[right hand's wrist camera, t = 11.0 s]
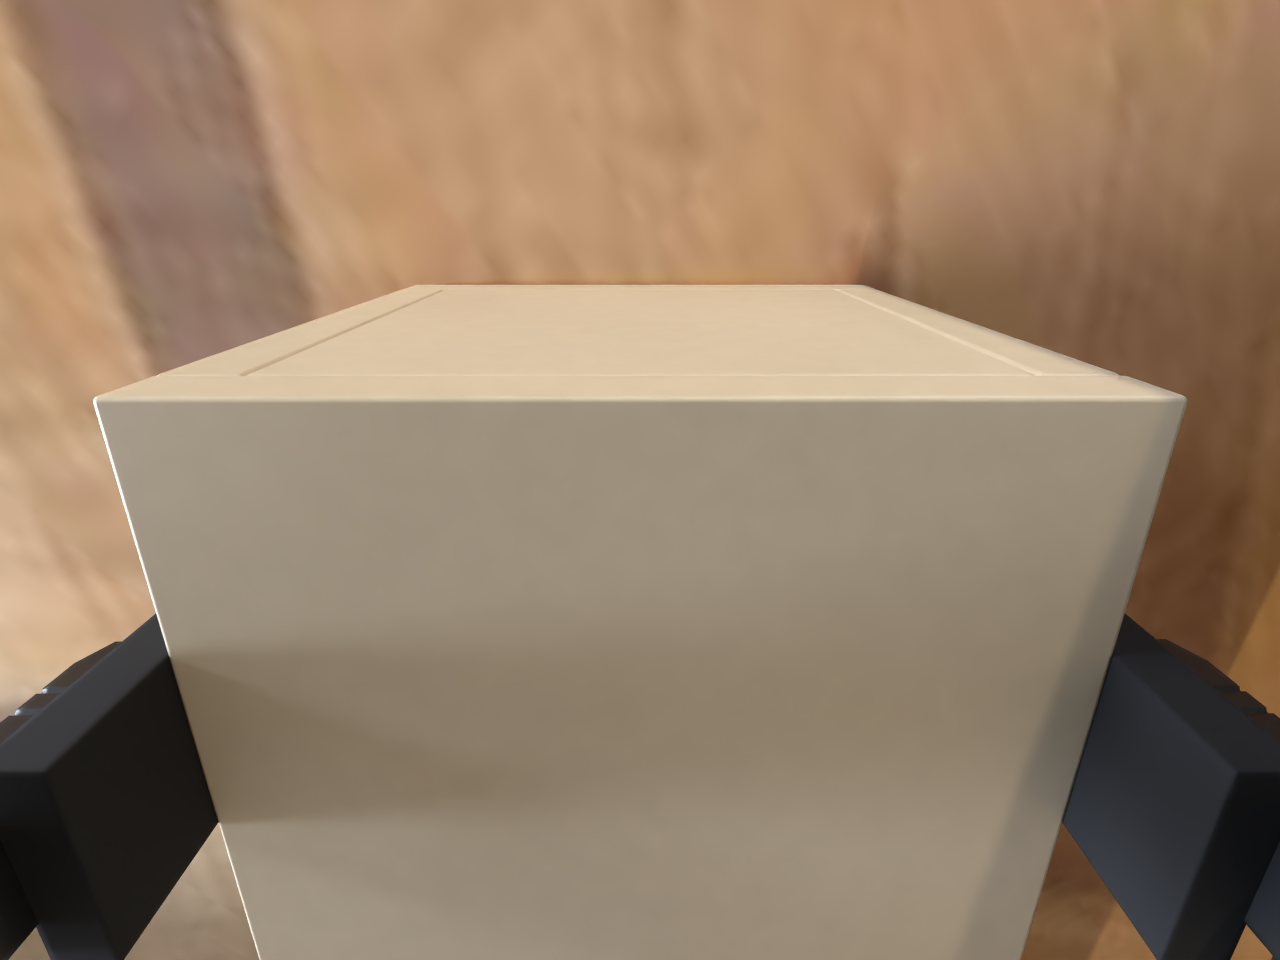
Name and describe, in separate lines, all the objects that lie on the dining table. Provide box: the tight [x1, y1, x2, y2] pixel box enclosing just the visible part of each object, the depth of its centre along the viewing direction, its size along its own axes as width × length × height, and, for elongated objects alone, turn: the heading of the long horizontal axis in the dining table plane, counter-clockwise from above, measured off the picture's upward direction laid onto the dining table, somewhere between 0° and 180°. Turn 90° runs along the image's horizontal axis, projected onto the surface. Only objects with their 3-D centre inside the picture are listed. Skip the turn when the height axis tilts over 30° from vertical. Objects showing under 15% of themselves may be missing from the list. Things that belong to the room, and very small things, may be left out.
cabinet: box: [94, 285, 1187, 960], centre depth 16 cm, size 20×11×11 cm, turn 0°
